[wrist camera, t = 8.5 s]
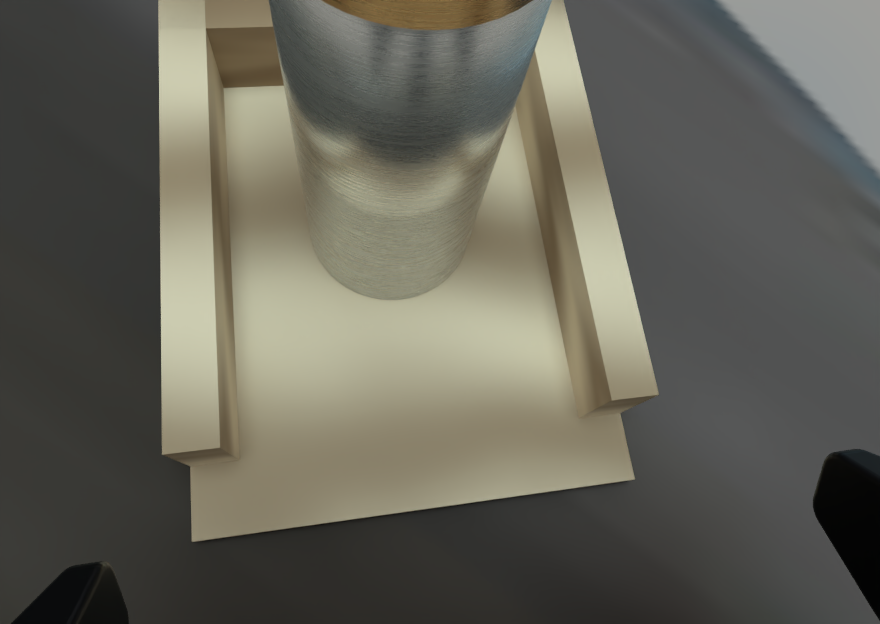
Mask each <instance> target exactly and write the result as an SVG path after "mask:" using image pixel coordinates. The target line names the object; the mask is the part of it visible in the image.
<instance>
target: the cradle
mask: <svg viewBox="0 0 880 624" xmlns="http://www.w3.org/2000/svg"><path fill="white" fill-rule="evenodd" d="M159 122H160V250H161V377H162V455H164V456H167V457H169V458H172V459H174V460H176V461H179V462H181V463H184V464H186V465H189V466H190V473H191V522H192V542H197V541H204V540H212V539H219V538H226V537H233V536H240V535H247V534H254V533H261V532H268V531H275V530H282V529H290V528H297V527H304V526H311V525H318V524H325V523H332V522H339V521H346V520H353V519H360V518H368V517H375V516H382V515H389V514H396V513H403V512H410V511H417V510H424V509H431V508H438V507H446V506H453V505H460V504H467V503H474V502H481V501H488V500H495V499H502V498H509V497H517V496H524V495H531V494H538V493H545V492H552V491H559V490H566V489H573V488H580V487H587V486H595V485H602V484H609V483H616V482H623V481H629V480H634V479H635V478H634V473H633V469H632V464H631V460H630V455H629V451H628V446H627V442H626V437H625V433H624V428H623V424H622V419H621V415H620V413H621V412H623V411H625V410H627V409H630V408H632V407H634V406H636V405H638V404H640V403H642V402H645V401H647V400H649V399H651V398H653V397H655V396H657V395H659V393H658V389H657V385H656V381H655V377H654V372H653V368H652V364H651V360H650V356H649V352H648V348H647V344H646V339H645V335H644V331H643V327H642V323H641V319H640V315H639V311H638V306H637V302H636V298H635V294H634V290H633V286H632V282H631V278H630V273H629V269H628V265H627V261H626V257H625V253H624V249H623V245H622V240H621V236H620V232H619V228H618V224H617V220H616V216H615V212H614V207H613V203H612V199H611V195H610V191H609V187H608V183H607V179H606V174H605V170H604V166H603V162H602V158H601V154H600V150H599V146H598V141H597V137H596V133H595V129H594V125H593V121H592V117H591V113H590V108H589V104H588V100H587V96H586V92H585V88H584V84H583V80H582V75H581V71H580V67H579V63H578V59H577V55H576V51H575V47H574V42H573V38H572V34H571V30H570V26H569V22H568V18H567V13H566V9H565V5H564V1H563V0H552V1H551V4H550V7H549V10H548V13H547V16H546V19H545V22H544V24H543V27H542V30H541V33H540V36H539V39H538V42H537V45H536V47H535V50H534V53H533V56H532V59H531V62H530V65H529V68H528V70H527V73H526V76H525V79H524V82H523V85H522V88H521V91H520V93H519V96H518V99H517V102H516V105H515V108H514V111H513V114H512V116H511V119H510V122H509V125H508V128H507V131H506V134H505V137H504V139H503V142H502V145H501V148H500V151H499V154H498V157H497V160H496V162H495V165H494V168H493V171H492V174H491V177H490V180H489V183H488V185H487V188H486V191H485V194H484V197H483V200H482V203H481V206H480V208H479V211H478V214H477V217H476V220H475V223H474V226H473V229H472V231H471V234H470V237H469V240H468V243H467V246H466V249H465V251H464V254H463V257H462V259H461V261H460V263H459V264H458V266H457V267H456V269H455V270H454V271H453V273H452V274H451V275H450V276H449V277H448V278H447V279H446V280H445V281H444V282H442V283H441V284H440V285H439V286H437V287H435V288H434V289H432V290H430V291H428V292H426V293H424V294H421V295H419V296H415V297H412V298H407V299H400V300H383V299H375V298H371V297H366V296H364V295H361V294H358V293H356V292H354V291H352V290H350V289H348V288H346V287H345V286H343V285H342V284H340V283H339V282H337V281H336V280H335V279H334V278H333V277H332V276H331V275H330V274H329V273H328V272H327V271H326V269H325V268H324V267H323V266H322V264H321V262H320V261H319V259H318V257H317V255H316V253H315V251H314V248H313V245H312V241H311V236H310V230H309V225H308V219H307V213H306V208H305V202H304V197H303V191H302V185H301V180H300V174H299V168H298V163H297V157H296V152H295V146H294V140H293V135H292V129H291V123H290V118H289V112H288V107H287V101H286V95H285V90H284V84H283V78H282V73H281V67H280V62H279V56H278V50H277V45H276V39H275V33H274V28H273V22H272V17H271V11H270V5H269V0H159Z"/></svg>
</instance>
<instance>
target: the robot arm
mask: <svg viewBox="0 0 880 624" xmlns="http://www.w3.org/2000/svg"><path fill="white" fill-rule="evenodd" d="M813 508H814V512H815V515H816V518H817V520H818V521H819V523H820V525H821V526H822V528H823V529H824V531H825V533H826V534H827V536H828V538H829V539H830V541H831V543H832V544H833V546H834V547H835V549H836V551H837V552H838V554H839V556H840V557H841V559H842V560H843V562H844V564H845V565H846V567H847V569H848V570H849V572H850V574H851V575H852V577H853V578H854V580H855V582H856V583H857V585H858V587H859V588H860V590H861V591H862V593H863V595H864V596H865V598H866V600H867V601H868V603H869V605H870V606H871V608H872V609H873V611H874V612H875V614H876V616H877V617H878V619H879V620H880V456H878V455H875V454H873V453H870V452H868V451H865V450H861V449H852V450H845V451H839V452H833V453H831V454H829V455H828V456H827V457H826V459H825V461H824V463H823V466H822V470H821V473H820V477H819V480H818V483H817V487H816V490H815V494H814V497H813ZM11 624H129V620H128V612H127V608H126V605H125V602H124V599H123V596H122V593H121V590H120V588H119V585H118V582H117V579H116V576H115V573H114V570H113V568H112V566H111V565H110V564H109V563H107V562H103V561H101V562H94V563H88V564H81V565H74V566H71V567H69V568H67V569H66V570H65V571H63V572H62V573H61V574H60V575H59V576H58V577H57V578H56V579H55V580H54V581H53V582H52V583H51V584H50V585H49V586H48V587H47V588H46V589H45V590H44V591H43V592H42V593H41V594H40V595H39V596H38V597H37V598H36V599H35V600H34V601H33V602H32V603H31V604H30V605H29V606H28V607H27V608H26V609H25V610H24V611H23V612H22V613H21V614H20V615H19V616H18V617H17V618H16V619H15V620H14V621H13V622H12V623H11Z"/></svg>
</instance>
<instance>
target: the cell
mask: <svg viewBox="0 0 880 624" xmlns="http://www.w3.org/2000/svg"><path fill="white" fill-rule="evenodd" d="M551 1H552V0H269V5H270V11H271V17H272V22H273V28H274V33H275V39H276V45H277V50H278V56H279V62H280V67H281V73H282V78H283V84H284V90H285V95H286V101H287V107H288V112H289V118H290V123H291V129H292V135H293V140H294V146H295V152H296V157H297V163H298V168H299V174H300V180H301V185H302V191H303V197H304V202H305V208H306V213H307V219H308V225H309V230H310V236H311V241H312V245H313V248H314V251H315V253H316V255H317V257H318V259H319V261H320V262H321V264H322V266H323V267H324V268H325V269H326V271H327V272H328V273H329V274H330V275H331V276H332V277H333V278H334V279H335V280H336V281H337V282H339V283H340V284H342V285H343V286H345V287H346V288H348V289H350V290H352V291H354V292H356V293H358V294H361V295H364V296H366V297H371V298H375V299H383V300H400V299H407V298H412V297H415V296H419V295H421V294H424V293H426V292H428V291H430V290H432V289H434V288H435V287H437V286H439V285H440V284H441V283H442V282H444V281H445V280H446V279H447V278H448V277H449V276H450V275H451V274H452V273H453V271H454V270H455V269H456V267H457V266H458V264H459V263H460V261H461V259H462V257H463V254H464V251H465V249H466V246H467V243H468V240H469V237H470V234H471V231H472V229H473V226H474V223H475V220H476V217H477V214H478V211H479V208H480V206H481V203H482V200H483V197H484V194H485V191H486V188H487V185H488V183H489V180H490V177H491V174H492V171H493V168H494V165H495V162H496V160H497V157H498V154H499V151H500V148H501V145H502V142H503V139H504V137H505V134H506V131H507V128H508V125H509V122H510V119H511V116H512V114H513V111H514V108H515V105H516V102H517V99H518V96H519V93H520V91H521V88H522V85H523V82H524V79H525V76H526V73H527V70H528V68H529V65H530V62H531V59H532V56H533V53H534V50H535V47H536V45H537V42H538V39H539V36H540V33H541V30H542V27H543V24H544V22H545V19H546V16H547V13H548V10H549V7H550V4H551Z"/></svg>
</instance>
